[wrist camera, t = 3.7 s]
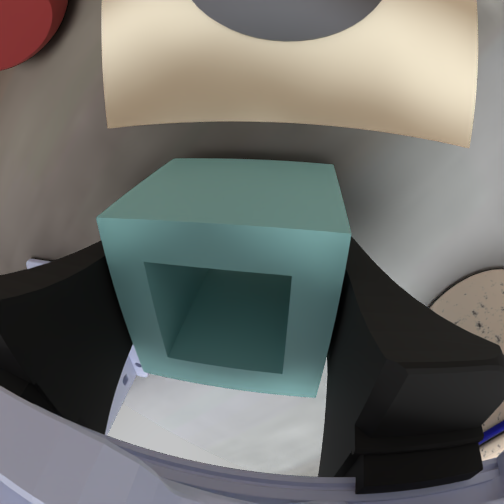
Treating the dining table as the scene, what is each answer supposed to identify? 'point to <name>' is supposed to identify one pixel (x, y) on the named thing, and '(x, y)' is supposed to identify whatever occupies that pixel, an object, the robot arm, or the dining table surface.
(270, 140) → the dining table surface
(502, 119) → the dining table surface
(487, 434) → the teacup with lid
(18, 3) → the fruit
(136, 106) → the post base
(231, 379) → the collar
